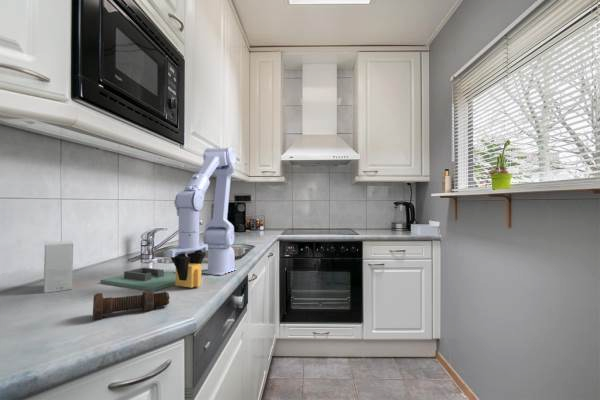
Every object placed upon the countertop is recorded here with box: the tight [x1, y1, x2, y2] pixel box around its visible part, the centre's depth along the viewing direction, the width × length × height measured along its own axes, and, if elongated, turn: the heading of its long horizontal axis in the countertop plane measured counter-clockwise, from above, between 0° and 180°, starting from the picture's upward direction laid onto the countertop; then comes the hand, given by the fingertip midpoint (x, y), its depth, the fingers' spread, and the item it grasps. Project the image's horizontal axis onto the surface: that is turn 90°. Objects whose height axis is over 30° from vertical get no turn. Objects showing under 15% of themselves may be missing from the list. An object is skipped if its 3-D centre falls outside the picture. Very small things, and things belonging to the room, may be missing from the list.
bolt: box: [92, 290, 171, 322], centre depth 71 cm, size 6×5×15 cm
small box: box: [43, 240, 74, 294], centre depth 91 cm, size 8×6×13 cm
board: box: [100, 267, 176, 292], centre depth 100 cm, size 16×22×3 cm
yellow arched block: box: [175, 263, 202, 289], centre depth 93 cm, size 4×7×6 cm, turn 66°
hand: (188, 278), depth 93 cm, fingers closed on yellow arched block, 4 cm apart
